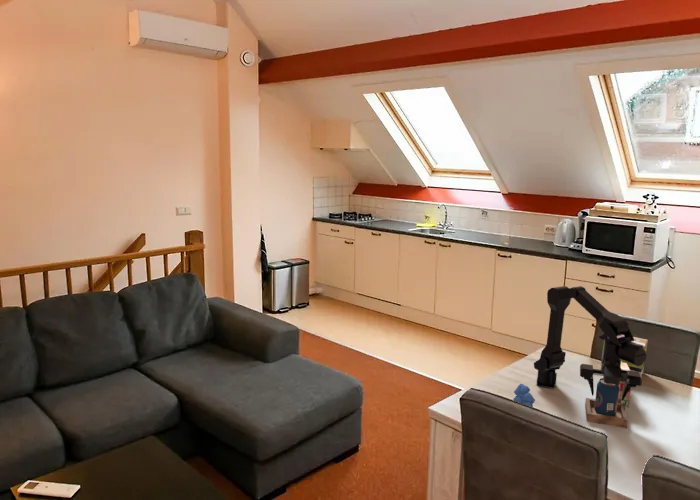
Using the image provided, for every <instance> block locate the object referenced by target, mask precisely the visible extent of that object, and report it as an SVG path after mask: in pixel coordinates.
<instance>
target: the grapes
mask: <svg viewBox="0 0 700 500" xmlns="http://www.w3.org/2000/svg"><path fill="white" fill-rule="evenodd" d="M530 391H531V389H530V387H528V385H525V384H523V383H519V384H518V385H517V387H516V389H515V390H514V391H513V393H514V394H515V396H514V398H513V400H514V401H516V402H519V403H521V404H524V405H527V406H530V407H532V408H533V407H534V405H533V404H534V403H535V402H536V399H535V397H534V396H533V395H532V394H531V393H530ZM514 401H513V402H514Z"/></svg>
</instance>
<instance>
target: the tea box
mask: <svg viewBox="0 0 700 500" xmlns="http://www.w3.org/2000/svg"><path fill="white" fill-rule="evenodd" d="M620 337H625V336H624V335H621V336H617V338H620ZM633 338H634V341H632V342H634V343H636V344H640V345H643V349H644V350H645V352H646V353H647V351H648V350H647V349H648V342H649V340H648V339H645V338H641V337H637V336H636V337H635V336H633ZM603 349H604V344H603V347H602V350H603ZM601 353H602V354H601V361H600V368H599V370H601V367H602V358H603V351H602V352H601ZM621 361H622V363H627V365H628V367H629V369H630V371H636V372H639V373H640V374H641V377H642V375H643V373H644V368H645V362H646V361H645V362H644V363H643V364H642V365H641V366H636V365H634V364H631V363H629V362H626V361H624V360H622V359H621Z"/></svg>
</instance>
